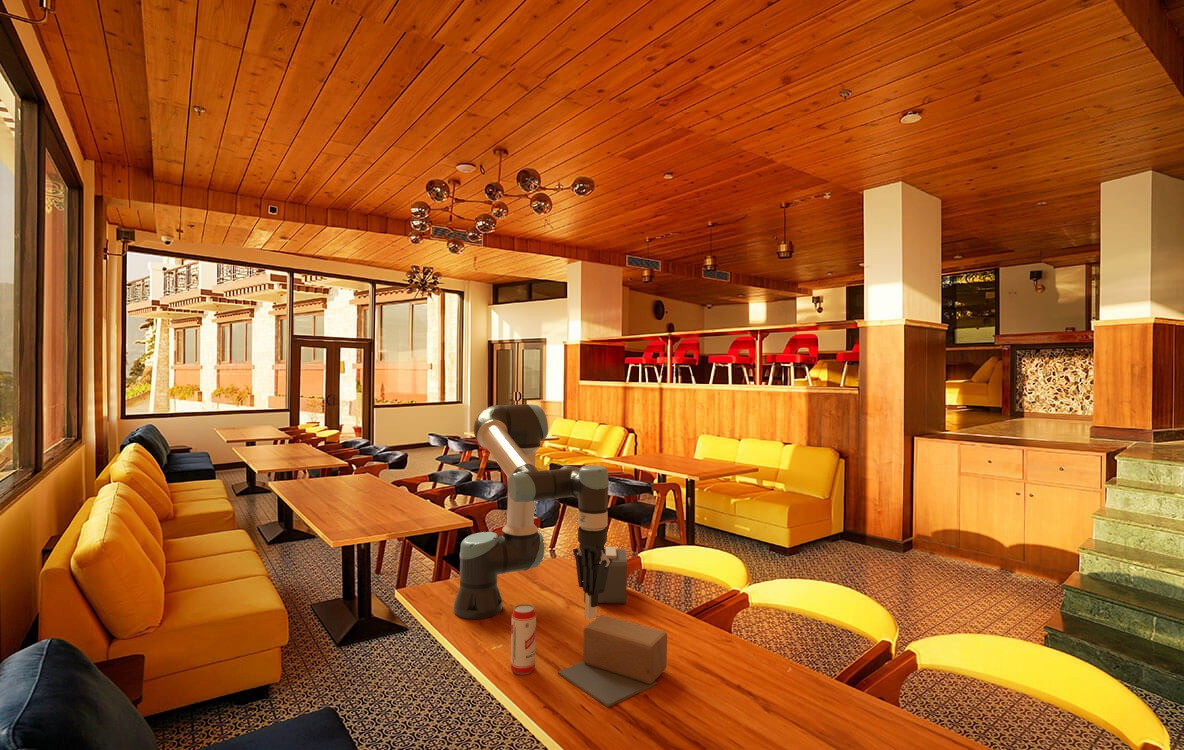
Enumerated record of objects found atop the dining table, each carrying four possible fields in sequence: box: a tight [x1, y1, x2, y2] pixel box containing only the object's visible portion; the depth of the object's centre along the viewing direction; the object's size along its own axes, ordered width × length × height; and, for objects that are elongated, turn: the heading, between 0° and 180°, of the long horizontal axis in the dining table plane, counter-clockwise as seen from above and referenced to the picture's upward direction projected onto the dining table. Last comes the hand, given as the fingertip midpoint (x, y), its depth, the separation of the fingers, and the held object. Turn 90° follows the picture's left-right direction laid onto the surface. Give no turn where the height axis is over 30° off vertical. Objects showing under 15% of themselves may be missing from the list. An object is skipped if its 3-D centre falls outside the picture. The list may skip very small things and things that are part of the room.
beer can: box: [510, 603, 537, 676], centre depth 158 cm, size 6×6×16 cm
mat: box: [557, 660, 657, 708], centre depth 154 cm, size 19×16×1 cm
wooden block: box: [582, 614, 668, 684], centre depth 159 cm, size 10×10×20 cm
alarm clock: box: [598, 546, 628, 605], centre depth 208 cm, size 16×11×16 cm
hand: (590, 617), depth 159 cm, fingers closed
